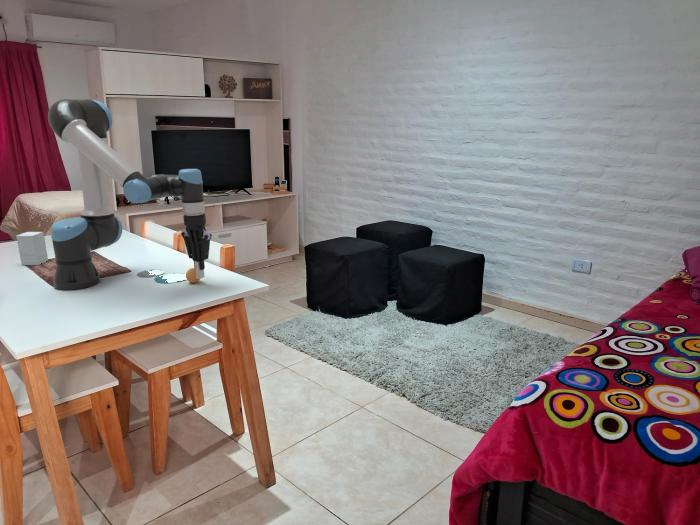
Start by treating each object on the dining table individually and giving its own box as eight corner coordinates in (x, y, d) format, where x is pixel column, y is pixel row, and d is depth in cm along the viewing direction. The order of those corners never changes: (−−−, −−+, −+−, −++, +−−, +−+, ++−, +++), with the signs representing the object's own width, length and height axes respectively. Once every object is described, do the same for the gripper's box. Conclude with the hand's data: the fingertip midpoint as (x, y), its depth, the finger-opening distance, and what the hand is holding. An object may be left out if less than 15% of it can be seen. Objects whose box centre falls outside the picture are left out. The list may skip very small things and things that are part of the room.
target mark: (171, 285, 194) (171, 284, 194) (146, 280, 200) (146, 279, 200) (197, 276, 205) (197, 275, 205) (173, 271, 211) (173, 270, 211)
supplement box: (49, 260, 227) (44, 231, 224) (37, 265, 220) (32, 235, 217) (32, 260, 228) (27, 231, 224) (20, 265, 221) (15, 235, 217)
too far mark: (149, 278, 202) (149, 278, 202) (131, 275, 206) (131, 274, 206) (169, 272, 210) (169, 271, 210) (152, 268, 215) (152, 268, 215)
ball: (196, 278, 192) (186, 266, 193) (189, 287, 195) (180, 276, 196) (206, 274, 197) (197, 263, 198) (200, 283, 200) (191, 272, 200)
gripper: (215, 213, 188) (221, 277, 195) (189, 210, 195) (195, 273, 201) (199, 216, 182) (206, 283, 188) (172, 214, 189) (179, 278, 195)
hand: (200, 277), depth 195 cm, fingers closed
